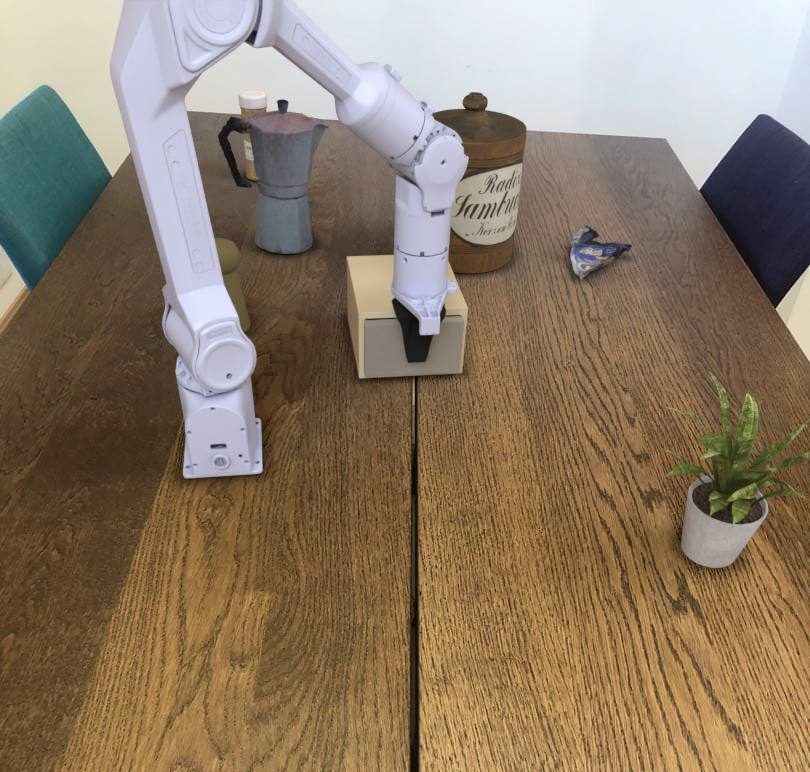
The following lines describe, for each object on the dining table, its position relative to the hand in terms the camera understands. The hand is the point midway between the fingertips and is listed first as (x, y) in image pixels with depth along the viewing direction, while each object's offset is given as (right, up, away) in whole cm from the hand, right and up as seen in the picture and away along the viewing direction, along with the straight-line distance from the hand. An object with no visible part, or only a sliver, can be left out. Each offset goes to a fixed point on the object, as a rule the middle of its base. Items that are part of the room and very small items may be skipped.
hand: (416, 360), depth 94 cm
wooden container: (+8, +23, +30) cm, 39 cm away
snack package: (+27, +21, +29) cm, 45 cm away
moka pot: (-20, +24, +31) cm, 44 cm away
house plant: (+27, -21, -15) cm, 37 cm away
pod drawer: (-1, +3, +8) cm, 8 cm away
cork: (-24, +7, +12) cm, 28 cm away
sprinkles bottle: (-27, +43, +50) cm, 71 cm away
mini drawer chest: (-2, +4, +10) cm, 11 cm away
